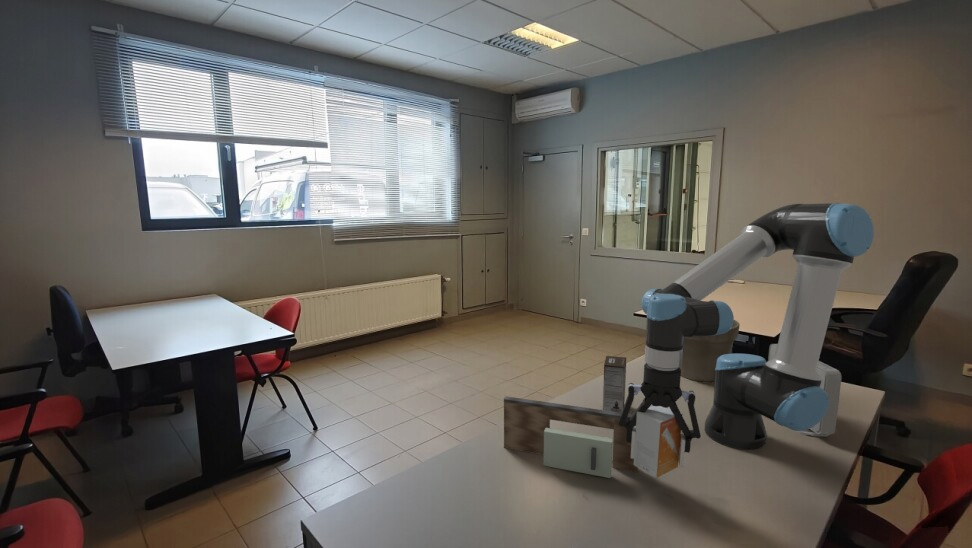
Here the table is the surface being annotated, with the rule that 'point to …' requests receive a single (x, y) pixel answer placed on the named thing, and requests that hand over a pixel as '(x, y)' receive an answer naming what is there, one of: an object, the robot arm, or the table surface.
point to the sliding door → (578, 452)
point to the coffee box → (614, 383)
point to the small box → (657, 441)
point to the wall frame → (534, 416)
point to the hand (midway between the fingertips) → (656, 459)
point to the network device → (832, 388)
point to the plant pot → (706, 354)
